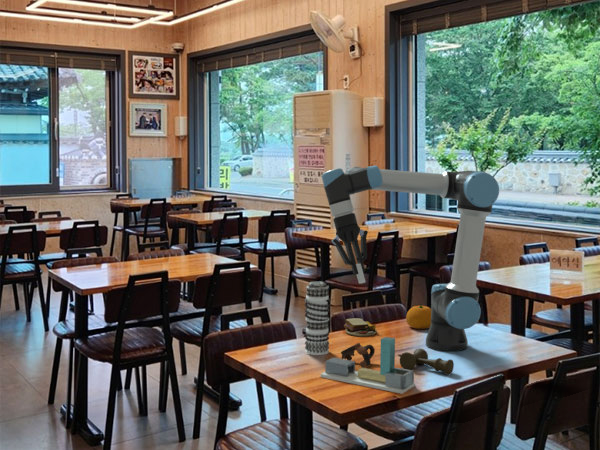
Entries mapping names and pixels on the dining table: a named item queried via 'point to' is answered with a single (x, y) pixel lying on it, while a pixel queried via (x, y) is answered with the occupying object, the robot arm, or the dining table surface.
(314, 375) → the dining table surface
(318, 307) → the decorative candle
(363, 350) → the brown grey jagged ring
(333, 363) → the sleeve
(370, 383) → the base board
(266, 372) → the dining table surface
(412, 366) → the kendama
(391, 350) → the two-tone teal block
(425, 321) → the fruit
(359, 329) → the toy sandwich meal
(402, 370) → the socket
